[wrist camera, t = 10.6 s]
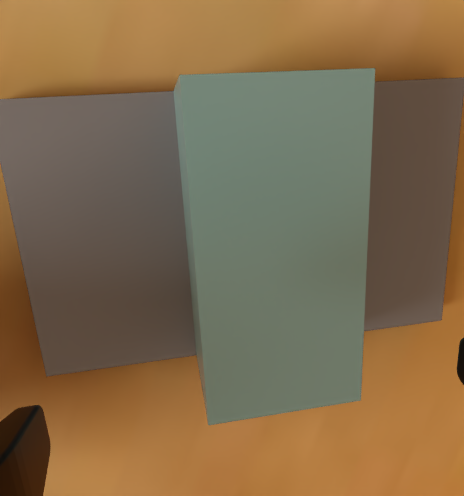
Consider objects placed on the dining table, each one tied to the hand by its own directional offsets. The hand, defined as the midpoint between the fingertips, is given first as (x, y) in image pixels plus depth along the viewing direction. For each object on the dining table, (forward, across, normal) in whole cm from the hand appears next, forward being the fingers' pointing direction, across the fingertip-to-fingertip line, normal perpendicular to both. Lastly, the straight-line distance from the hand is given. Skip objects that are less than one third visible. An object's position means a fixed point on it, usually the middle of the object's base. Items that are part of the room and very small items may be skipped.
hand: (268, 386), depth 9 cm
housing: (+10, -2, -1) cm, 11 cm away
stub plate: (+12, -2, -1) cm, 12 cm away
